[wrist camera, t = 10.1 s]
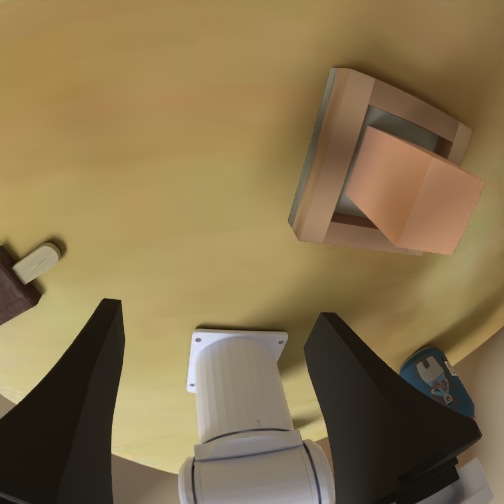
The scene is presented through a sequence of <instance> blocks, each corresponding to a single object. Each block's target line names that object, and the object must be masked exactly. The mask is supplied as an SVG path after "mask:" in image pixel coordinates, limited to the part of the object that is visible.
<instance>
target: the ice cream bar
mask: <svg viewBox="0 0 504 504" xmlns="http://www.w3.org/2000/svg"><path fill="white" fill-rule="evenodd" d="M60 257H61V254H60V251H59V249H58V248H57V247H56V246H55V245H54V244H52V243H44V244H42V245H41V246H39V247H38V248H37V249H35V250H34V251H32V252H31V253H29V254H28V255H27V256H25V257H24V258H22V259H21V260H20V261H18V262H17V263H15V261H14V260H13V259H12V257H11V256H10V255H9V254H8V253H7V251H6V250H5V249H4V248H3V247H2V246H0V325H2V324H4V323H5V322H7V321H9V320H11V319H12V318H14V317H16V316H18V315H19V314H21V313H23V312H25V311H27V310H28V309H30V308H32V307H34V306H36V305H37V304H38V302H39V300H40V298H41V296H42V295H41V294H40V293H39V292H38V290H37V289H36V288H35V287H34V285H33V284H32V283H31V282H30V281H32V280H33V279H35V278H36V277H38V276H39V275H41V274H43V273H44V272H46V271H48V270H49V269H51V268H53V267H54V266H56V265H57V264H58V262H59V260H60Z"/></svg>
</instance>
